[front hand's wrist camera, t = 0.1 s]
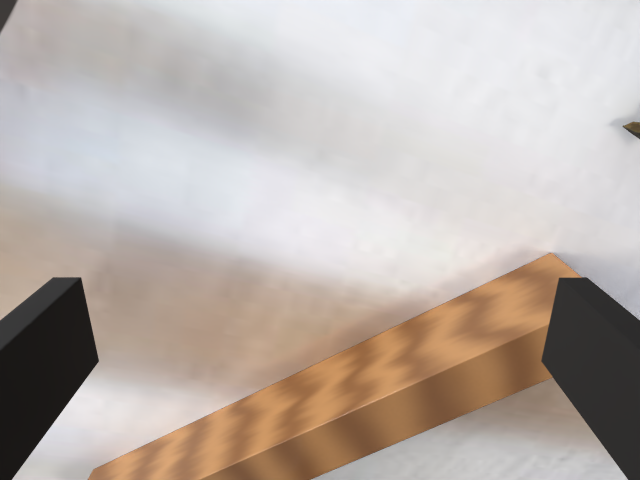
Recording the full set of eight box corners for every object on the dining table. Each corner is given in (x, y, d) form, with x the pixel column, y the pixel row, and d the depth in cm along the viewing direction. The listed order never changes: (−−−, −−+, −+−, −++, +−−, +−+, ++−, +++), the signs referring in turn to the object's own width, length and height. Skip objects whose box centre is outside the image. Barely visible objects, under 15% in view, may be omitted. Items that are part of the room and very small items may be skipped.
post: (551, 252, 42) (607, 297, 34) (569, 293, 44) (625, 346, 36) (93, 469, 52) (50, 545, 44) (120, 496, 54) (85, 574, 46)
